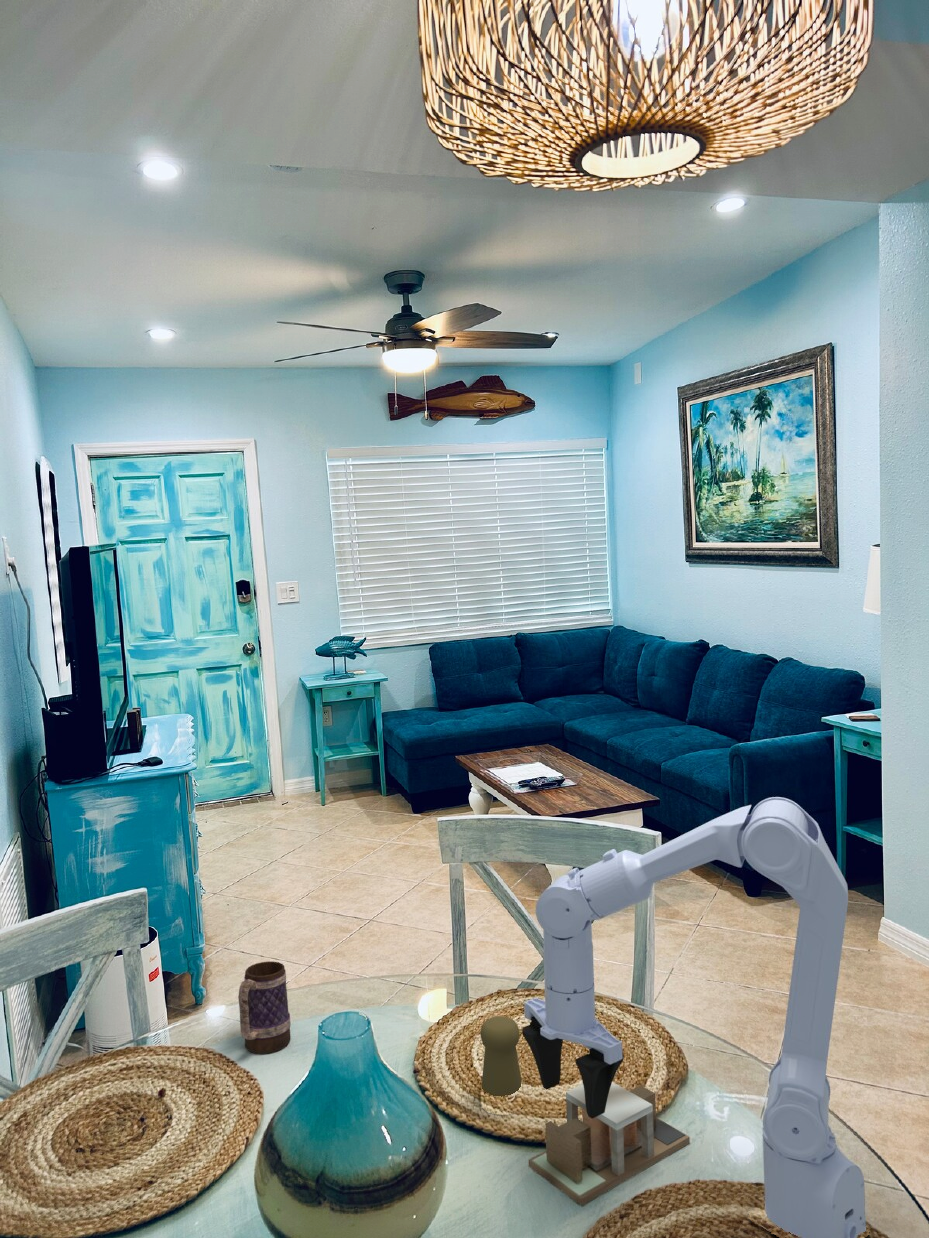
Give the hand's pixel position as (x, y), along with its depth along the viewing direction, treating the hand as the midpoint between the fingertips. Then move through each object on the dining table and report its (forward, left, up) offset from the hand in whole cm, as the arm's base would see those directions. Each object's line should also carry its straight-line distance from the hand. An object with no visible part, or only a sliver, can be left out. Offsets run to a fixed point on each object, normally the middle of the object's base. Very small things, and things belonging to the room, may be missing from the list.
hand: (573, 1099), depth 103 cm
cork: (+17, -3, -9) cm, 19 cm away
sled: (0, -5, -7) cm, 9 cm away
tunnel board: (0, -6, -9) cm, 10 cm away
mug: (+52, +16, -9) cm, 55 cm away
